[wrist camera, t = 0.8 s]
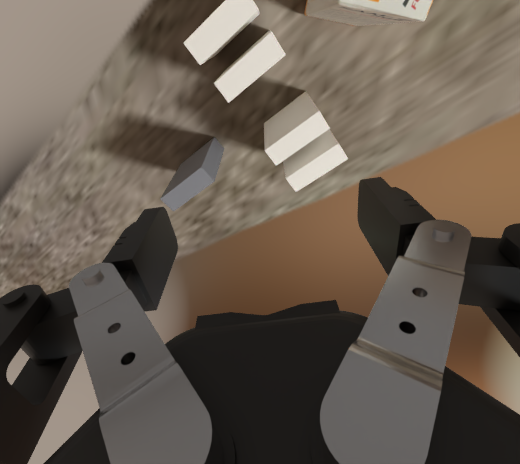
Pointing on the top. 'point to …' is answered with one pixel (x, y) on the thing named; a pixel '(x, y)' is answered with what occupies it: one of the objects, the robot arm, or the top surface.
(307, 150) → the ivory domino
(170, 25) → the top surface
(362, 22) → the supplement box
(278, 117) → the ivory domino
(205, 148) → the charcoal domino
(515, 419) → the robot arm
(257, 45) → the ivory domino
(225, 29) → the ivory domino
